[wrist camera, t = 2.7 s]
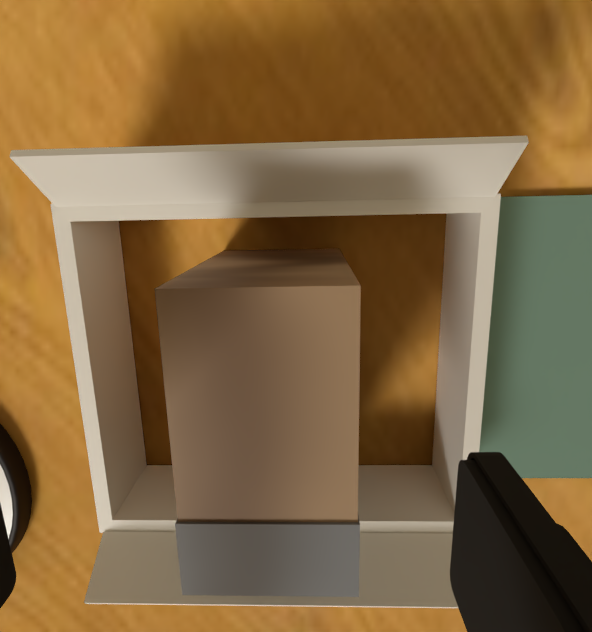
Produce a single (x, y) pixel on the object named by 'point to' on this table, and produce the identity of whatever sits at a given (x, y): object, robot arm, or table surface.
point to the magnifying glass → (14, 490)
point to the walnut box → (264, 422)
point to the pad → (541, 338)
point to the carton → (273, 201)
